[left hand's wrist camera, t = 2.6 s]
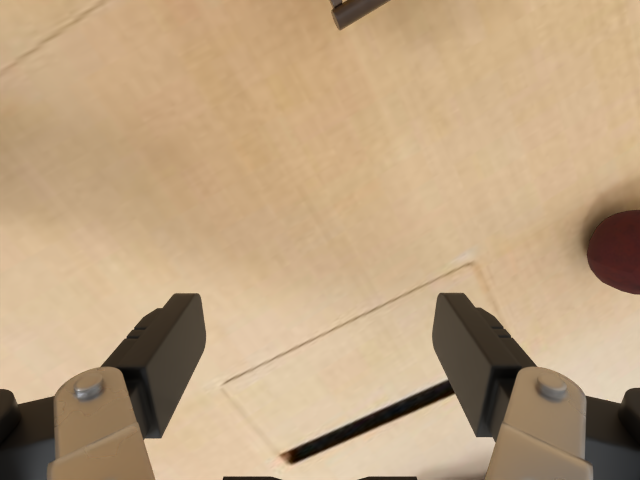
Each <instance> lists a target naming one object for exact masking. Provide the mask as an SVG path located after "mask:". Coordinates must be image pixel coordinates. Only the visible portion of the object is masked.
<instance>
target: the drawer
mask: <svg viewBox="0 0 640 480" xmlns="http://www.w3.org/2000/svg"><path fill="white" fill-rule="evenodd" d="M388 1H390V0H347V1H345V2H344V3H342V0H330V3H331V5H332V7H333V9H332V10H331V13H332V16H333V19H334V22H335V24H336V26H337V28H338V29H339V30H342V29H343V28H345V27H347V26H348V25H350V24H352V23H353V22H355V21H357V20H358V19H360V18H362V17H363V16H365V15H367V14H368V13H370V12H372V11H373V10H375V9H377V8H378V7H380V6H382V5H383V4H385V3H387V2H388Z"/></svg>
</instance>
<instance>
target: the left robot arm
mask: <svg viewBox="0 0 640 480" xmlns="http://www.w3.org/2000/svg"><path fill="white" fill-rule="evenodd" d="M432 340H433V346H434V350H435V352H436V354H437V356H438V359H439V361H440V363H441V365H442V367H443V369H444V371H445V373H446V375H447V377H448V379H449V381H450V383H451V386H452V388H453V390H454V392H455V394H456V396H457V398H458V400H459V402H460V404H461V406H462V408H463V410H464V413H465V415H466V417H467V419H468V421H469V423H470V425H471V427H472V429H473V431H474V433H475V435H476V437H493V439H494V441H495V442H496V444H495V447H494V451H493V454H492V457H491V460H490V464H489V467H488V470H487V474H486V477H485V480H640V388H632V389H629V390H627V391H626V393H625V395H624V398H623V400H622V403H621V404H620V403H616V402H611V401H607V400H602V399H598V398H593V397H589V396H585V394H584V392H583V391H582V390H581V388H580V387H579V386H578V385H577V384H575V383H574V382H573V381H572V380H570V379H569V378H567V377H565V376H564V375H562V374H560V373H558V372H555V371H553V370H549V369H546V368H542V367H537V366H536V365H535V363H534V362H533V361H532V360H531V359H530V358H529V356H528V355H527V354H526V353H525V352H524V350H523V349H522V348H521V347H520V346H519V345H518V343H517V342H516V341H515V340H514V339H513V338H511V335H510V334H509V333H508V332H507V331H506V329H503V326H502V325H501V324H500V322H499V321H498V320H497V319H496V318H495V317H494V316H493V315H491V314H490V313H488V312H487V311H485V310H483V309H482V308H475V306H474V305H473V304H472V303H471V301H470V300H469V299H468V298H467V296H466V295H465V294H464V293H440V294H439V295H438V297H437V303H436V310H435V317H434V324H433V332H432ZM205 343H206V330H205V323H204V316H203V309H202V302H201V297H200V295H199V294H197V293H176V294H174V295H173V296H172V297H171V298H170V299H169V301H168V302H167V303H166V304H165V306H164V307H163V308H157V309H156V310H154V311H152V312H151V313H149V314H148V315H146V316H145V317H143V318H142V319H141V321H140V322H139V323H138V324H137V325H136V326H135V327H134V330H132V331H131V332H130V333H129V334H128V336H127V339H124V340H123V341H122V343H121V344H120V345H119V346H118V347H117V348H116V350H115V351H114V352H113V353H112V354H111V355H110V356H109V358H108V359H107V360H106V361H105V362H104V363H103V365H102V366H101V367H98V368H94V369H90V370H87V371H85V372H82V373H80V374H78V375H76V376H75V377H73V378H71V379H70V380H68V381H67V382H66V383H65V384H63V385H62V386H61V387H60V388H59V390H58V391H57V392H56V394H55V396H53V397H49V398H44V399H40V400H36V401H31V402H27V403H22V404H17V402H16V400H15V397H14V395H13V393H12V392H11V391H9V390H5V389H0V480H155V477H154V474H153V470H152V467H151V464H150V460H149V457H148V454H147V451H146V447H145V444H144V441H143V440H144V439H145V438H162V436H163V433H164V431H165V429H166V427H167V425H168V423H169V421H170V419H171V417H172V415H173V413H174V411H175V409H176V407H177V405H178V403H179V401H180V399H181V397H182V395H183V392H184V390H185V388H186V386H187V384H188V382H189V380H190V378H191V376H192V374H193V372H194V370H195V368H196V366H197V364H198V362H199V360H200V358H201V356H202V354H203V351H204V348H205ZM223 480H281V479H278V478H274V477H223ZM359 480H417V477H366V478H362V479H359Z"/></svg>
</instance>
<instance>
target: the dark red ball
mask: <svg viewBox="0 0 640 480" xmlns="http://www.w3.org/2000/svg"><path fill="white" fill-rule="evenodd" d="M587 258H588V263H589V266H590V268H591V270H592V271H593V273H594V274H595V275H596V276H597V277H598V278H599V279H600V280H601V281H602V282H603V283H605V284H607V285H609V286H611V287H614V288H616V289H618V290H620V291H623V292H627V293H632V294H640V210H632V211H625V212H621V213H617V214H614V215H612V216H610V217H608V218H606V219H605V220H604V221H603V222H602V223H601V224H600V225H599V226H598V227H597V228H596V230H595V232H594V234H593V236H592V237H591V239H590V242H589V247H588V252H587Z"/></svg>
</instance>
